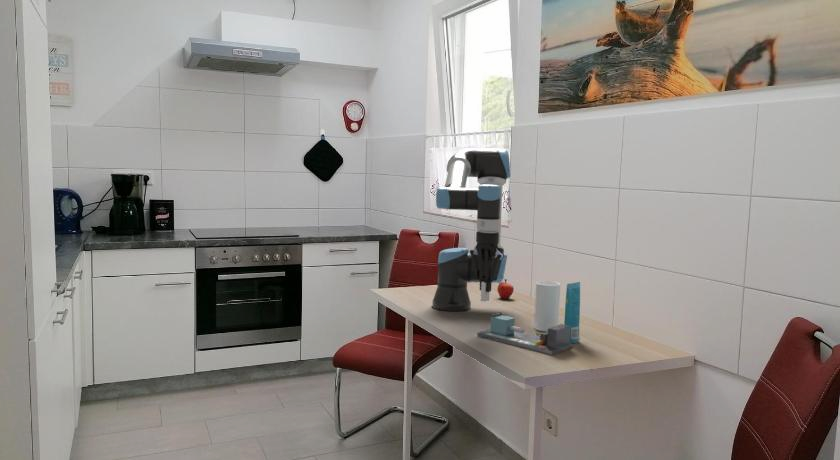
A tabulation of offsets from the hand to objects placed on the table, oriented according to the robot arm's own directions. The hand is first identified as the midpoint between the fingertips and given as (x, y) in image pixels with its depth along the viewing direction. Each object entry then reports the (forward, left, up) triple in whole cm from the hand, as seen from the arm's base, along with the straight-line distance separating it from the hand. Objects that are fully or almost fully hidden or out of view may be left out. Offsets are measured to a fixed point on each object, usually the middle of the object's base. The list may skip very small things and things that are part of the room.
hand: (484, 300), depth 208 cm
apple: (-27, +49, -11) cm, 57 cm away
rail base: (+16, -1, -11) cm, 20 cm away
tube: (+26, +11, -11) cm, 31 cm away
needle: (+24, -2, -9) cm, 26 cm away
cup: (+12, +19, -11) cm, 25 cm away
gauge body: (+10, -1, -9) cm, 14 cm away
